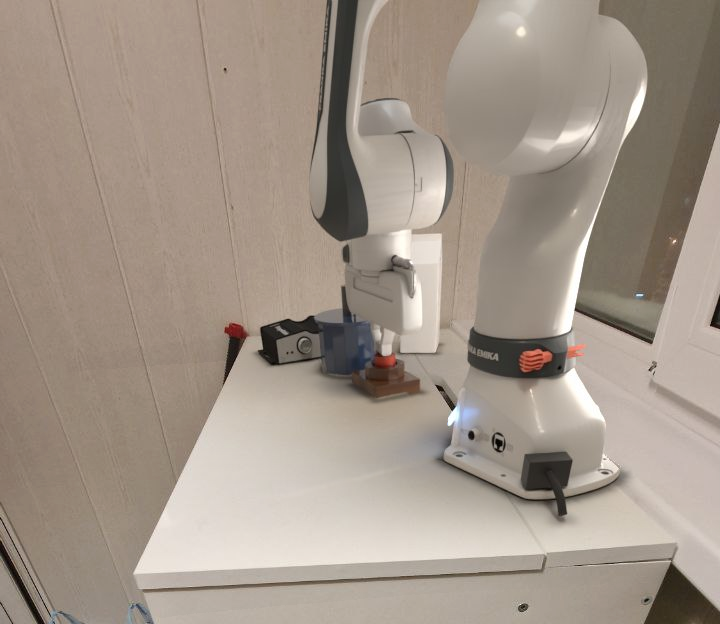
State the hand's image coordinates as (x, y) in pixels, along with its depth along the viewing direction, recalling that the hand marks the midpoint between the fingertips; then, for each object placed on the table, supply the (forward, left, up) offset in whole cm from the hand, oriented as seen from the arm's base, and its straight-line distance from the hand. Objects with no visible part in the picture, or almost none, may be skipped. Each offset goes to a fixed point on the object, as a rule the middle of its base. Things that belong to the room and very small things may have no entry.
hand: (382, 353), depth 91 cm
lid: (+14, 0, +3) cm, 14 cm away
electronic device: (+30, +2, -6) cm, 30 cm away
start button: (0, 0, -2) cm, 2 cm away
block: (0, 0, -6) cm, 5 cm away
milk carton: (+19, -17, -6) cm, 26 cm away
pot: (+14, 0, -5) cm, 15 cm away
